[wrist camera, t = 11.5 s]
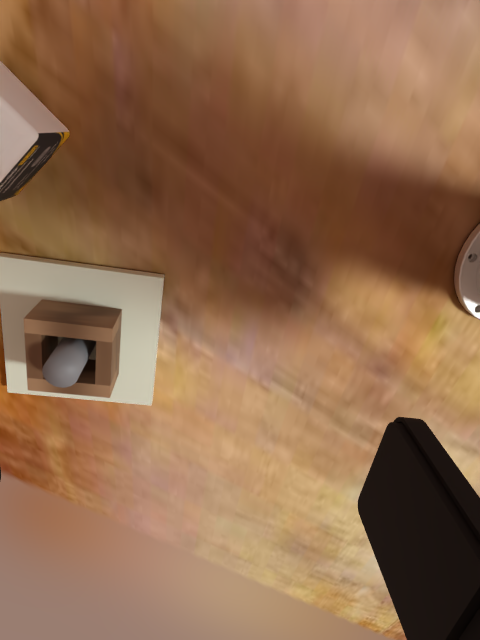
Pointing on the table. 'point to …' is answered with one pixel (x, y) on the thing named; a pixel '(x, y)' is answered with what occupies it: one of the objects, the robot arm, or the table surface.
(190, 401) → the table surface
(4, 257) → the post stand
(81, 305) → the walnut ring
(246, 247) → the table surface
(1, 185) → the medicine bottle
